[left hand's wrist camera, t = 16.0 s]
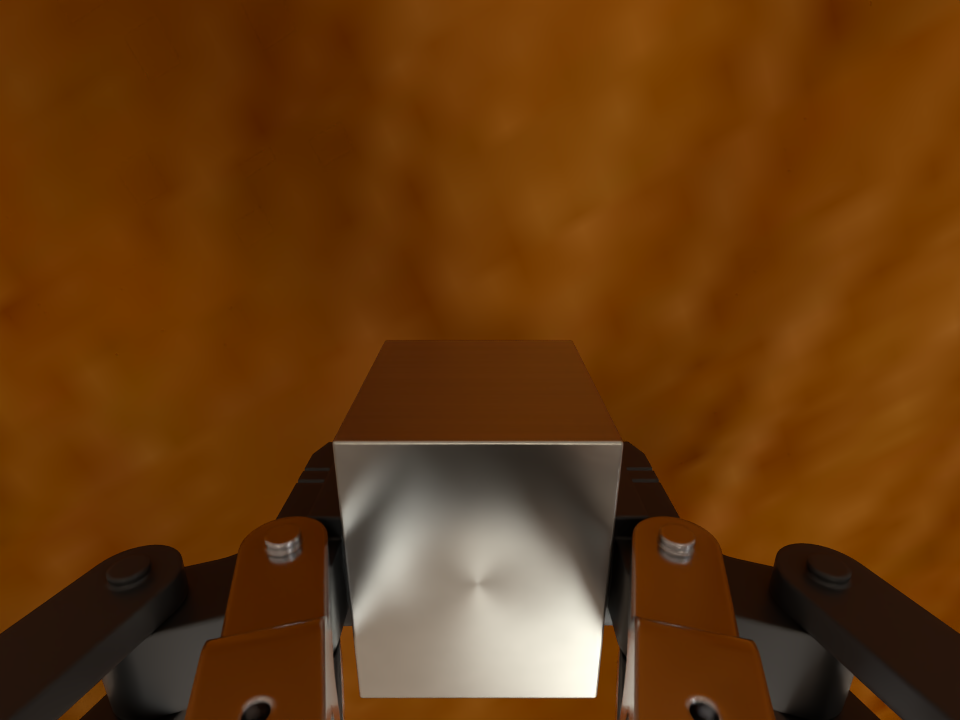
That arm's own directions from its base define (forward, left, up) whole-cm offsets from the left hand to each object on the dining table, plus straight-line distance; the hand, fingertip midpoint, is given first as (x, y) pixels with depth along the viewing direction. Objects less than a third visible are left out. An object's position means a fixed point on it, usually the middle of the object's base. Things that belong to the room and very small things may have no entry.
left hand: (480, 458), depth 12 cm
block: (0, 0, 0) cm, 0 cm away
